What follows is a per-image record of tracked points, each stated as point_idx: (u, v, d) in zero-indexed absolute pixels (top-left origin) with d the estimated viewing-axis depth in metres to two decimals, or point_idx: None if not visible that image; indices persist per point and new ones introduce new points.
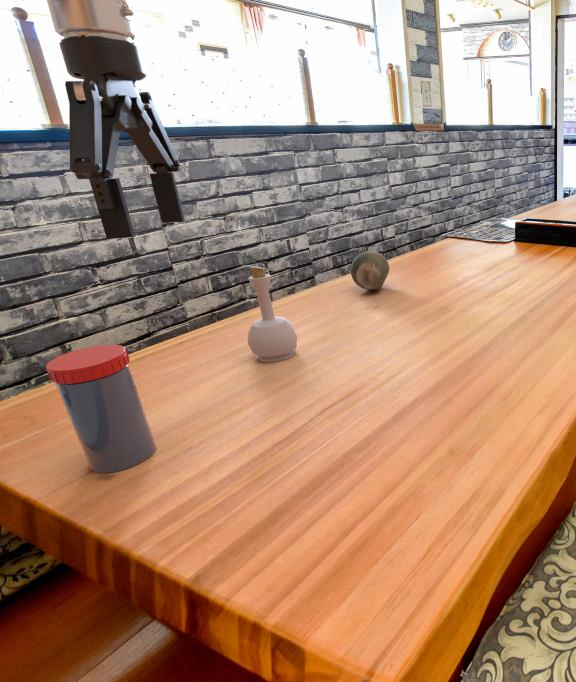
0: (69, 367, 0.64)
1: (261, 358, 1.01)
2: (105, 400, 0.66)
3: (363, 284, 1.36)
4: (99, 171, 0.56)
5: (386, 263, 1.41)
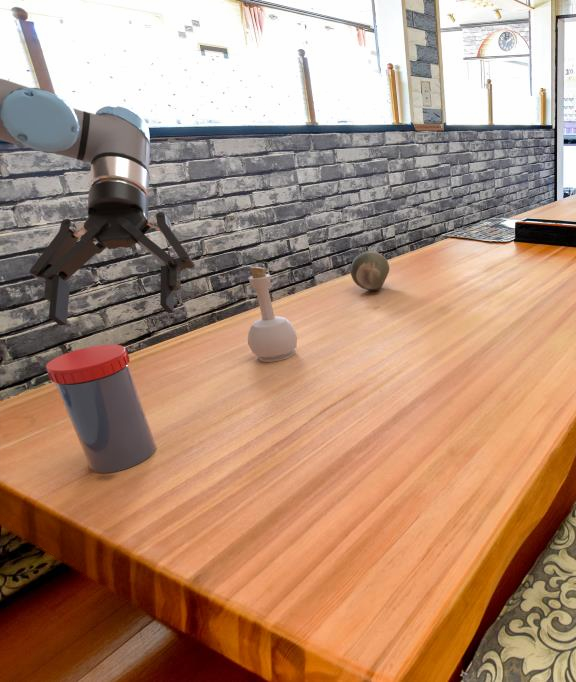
0: (69, 367, 0.64)
1: (261, 358, 1.01)
2: (105, 400, 0.66)
3: (363, 284, 1.36)
4: (191, 267, 0.81)
5: (386, 263, 1.41)
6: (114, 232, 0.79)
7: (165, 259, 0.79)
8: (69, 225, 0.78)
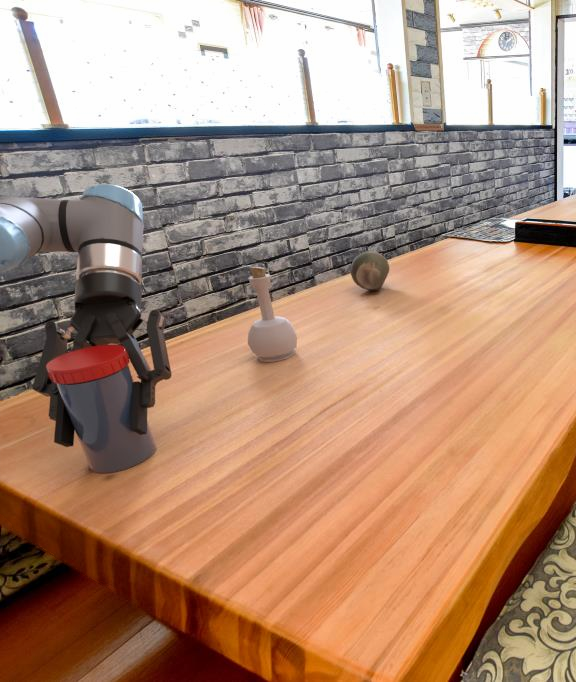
0: (69, 367, 0.64)
1: (261, 358, 1.01)
2: (105, 400, 0.66)
3: (363, 284, 1.36)
4: (166, 379, 0.73)
5: (386, 263, 1.41)
6: (103, 329, 0.72)
7: (139, 372, 0.71)
8: (55, 328, 0.71)
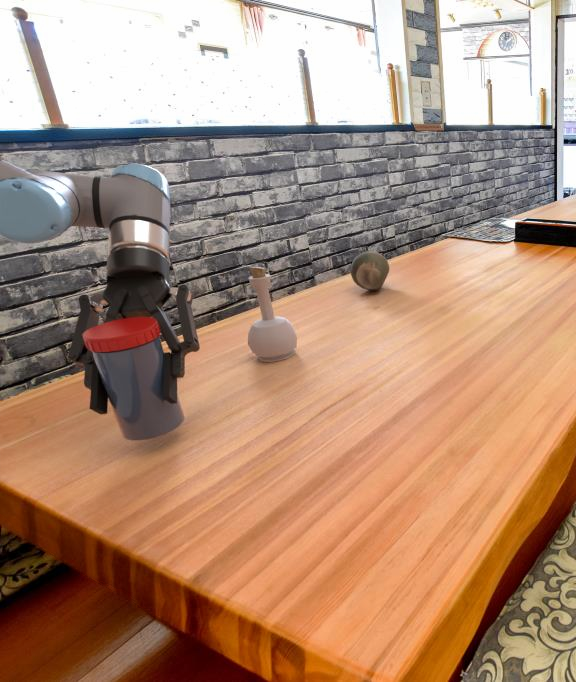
0: (105, 336, 0.66)
1: (261, 358, 1.01)
2: (138, 368, 0.69)
3: (363, 284, 1.36)
4: (194, 351, 0.76)
5: (386, 263, 1.41)
6: (135, 302, 0.74)
7: (169, 343, 0.73)
8: (88, 300, 0.73)
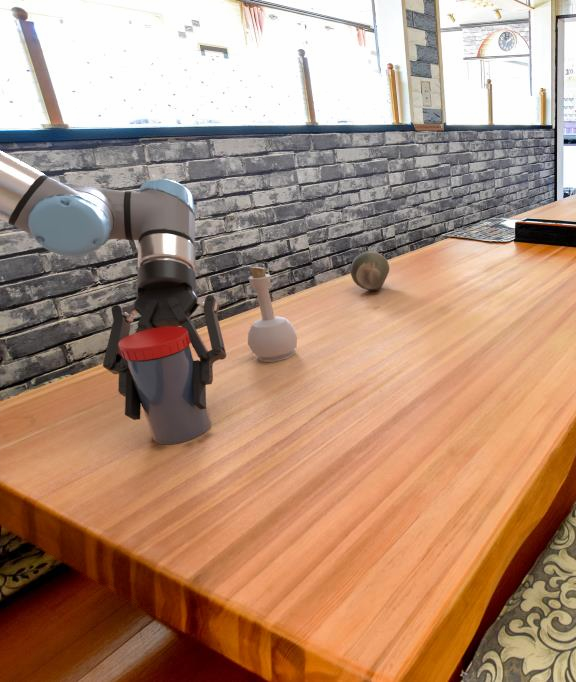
0: (140, 345, 0.70)
1: (261, 358, 1.01)
2: (170, 376, 0.72)
3: (363, 284, 1.36)
4: (221, 358, 0.79)
5: (386, 263, 1.41)
6: (164, 312, 0.78)
7: (198, 351, 0.76)
8: (121, 311, 0.77)
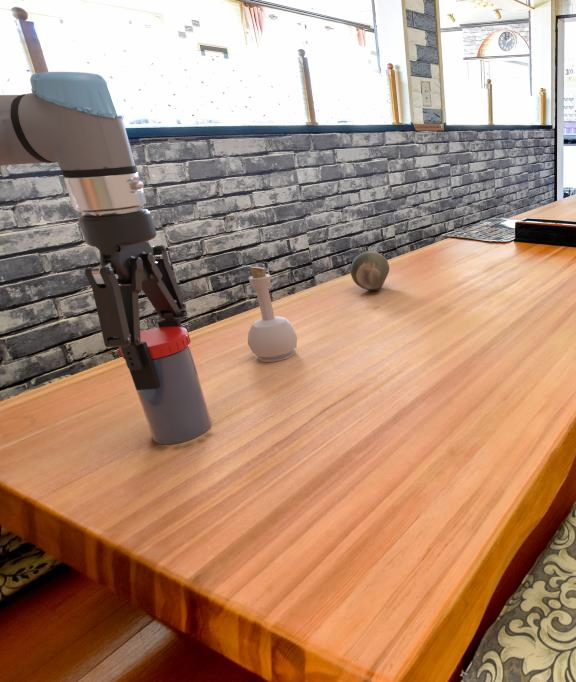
0: None
1: (261, 358, 1.01)
2: (170, 376, 0.72)
3: (363, 284, 1.36)
4: (129, 344, 0.66)
5: (386, 263, 1.41)
6: None
7: None
8: None
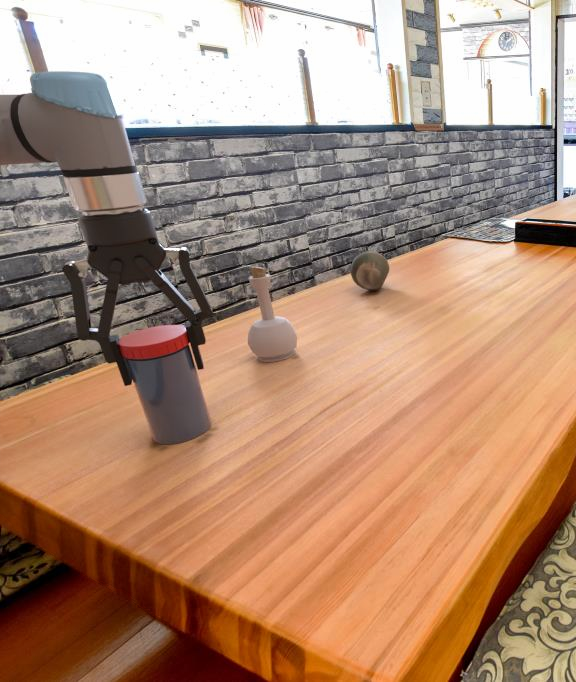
0: (179, 330, 0.74)
1: (261, 358, 1.01)
2: (170, 376, 0.72)
3: (363, 284, 1.36)
4: None
5: (386, 263, 1.41)
6: (133, 273, 0.68)
7: (188, 316, 0.73)
8: (76, 272, 0.65)
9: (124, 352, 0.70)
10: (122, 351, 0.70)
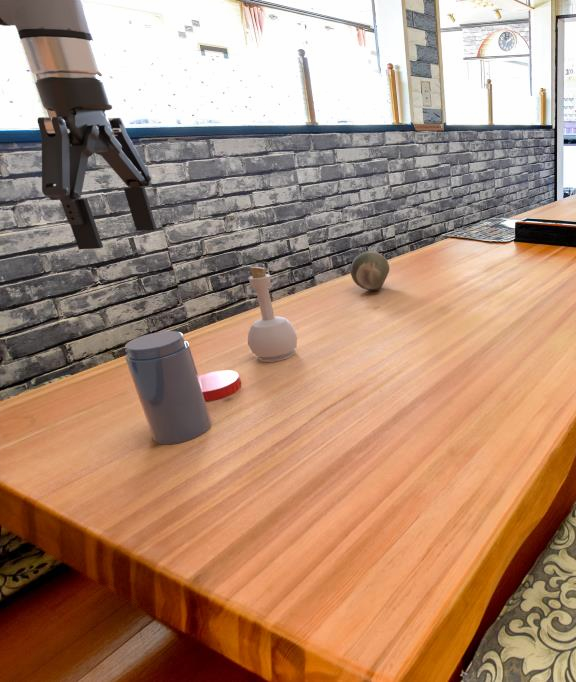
0: (220, 372, 0.93)
1: (261, 358, 1.01)
2: (170, 376, 0.72)
3: (363, 284, 1.36)
4: None
5: (386, 263, 1.41)
6: (99, 141, 0.73)
7: (140, 179, 0.82)
8: (65, 127, 0.67)
9: (218, 394, 0.87)
10: (213, 395, 0.87)
